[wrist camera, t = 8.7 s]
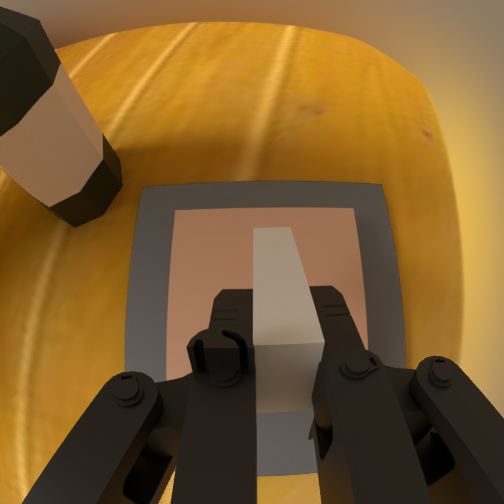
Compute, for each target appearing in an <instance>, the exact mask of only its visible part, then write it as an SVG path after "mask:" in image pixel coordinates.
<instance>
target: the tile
mask: <svg viewBox="0 0 504 504" xmlns="http://www.w3.org/2000/svg"><path fill="white" fill-rule="evenodd" d="M265 227H291V230H292V234H293V237H294V240H295V243H296V246H297V249H298V253H299V256H300V259H301V262H302V265H303V269H304V272H305V275H306V279H307V282H308V285H309V286H328V285H332V286H333V287H335V288H336V289H337V290H338V291H339V292H340V293H342V295H343V297H344V299H345V302H346V304H347V307H348V308H349V311H350V313H351V315H352V318H353V320H354V322H355V325H356V327H357V329H358V332H359V334H360V337H361V339H362V342H363V344H364V346H365V349H366V350H368V336H367V318H366V305H365V293H364V282H363V273H362V264H361V256H360V248H359V241H358V234H357V227H356V221H355V215H354V209H353V208H310V207H280V208H223V209H194V210H175V219H174V228H173V239H172V250H171V262H170V275H169V292H168V312H167V348H166V381H167V380H173V379H177V378H180V377H183V376H185V375H187V374H189V373H191V372H192V368H191V364H190V360H189V356H188V352H187V348H186V347H187V345H188V343H189V341H190V339H191V338H192V337H193V336H195V335H196V334H197V333H198V332H200V331H202V330H205V329H208V327H209V322H210V316H211V312H212V306H213V301H214V298H215V297H216V296H217V295H218V293H219V292H220V291H221V290H222V289H253V228H265Z"/></svg>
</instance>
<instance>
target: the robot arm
mask: <svg viewBox="0 0 504 504" xmlns="http://www.w3.org/2000/svg"><path fill="white" fill-rule="evenodd" d="M186 348H187V352H188V356H189V360H190V364H191V368H192V372H191V373H189V374H187V375H185V376H183V377H180V378H177V379H173V380H167V381H162V382H156V383H155V382H154V380H153V379H152V378H151V377H150V376H148V375H146V374H144V373H143V372H136V371H128V372H122V373H120V374H118V375H116V376H113V377H112V378H111V379H110V380H109V381H108V382H107V383H105V385H104V386H103V387H102V389H101V390H100V391H99V393H98V394H97V395H96V397H95V398H94V399H93V401H92V402H91V404H90V405H89V406H88V408H87V409H86V410H85V412H84V413H83V415H82V416H81V417H80V419H79V420H78V421H77V423H76V424H75V426H74V427H73V428H72V430H71V431H70V433H69V434H68V435H67V437H66V438H65V440H64V441H63V443H62V444H61V445H60V447H59V448H58V450H57V451H56V453H55V454H54V456H53V457H52V458H51V460H50V461H49V463H48V464H47V466H46V467H45V469H44V470H43V472H42V473H41V475H40V476H39V478H38V479H37V481H36V482H35V484H34V485H33V487H32V488H31V490H30V491H29V493H28V495H27V496H26V498H25V499H24V501H23V502H22V504H158V503H159V501H160V499H161V497H162V495H163V493H164V490H165V488H166V486H167V484H168V482H169V480H170V478H171V476H172V474H173V472H174V470H175V467H176V471H175V478H174V484H173V491H172V497H171V504H257V422H256V413H274V412H294V411H307V410H310V407H311V403H312V404H313V410H314V418H313V421H312V424H311V428H310V431H309V437H308V440H310V439H312V438H313V439H314V447H315V454H316V462H317V470H318V478H319V486H320V495H321V504H504V418H503V417H502V416H501V415H500V414H499V412H498V411H497V410H496V409H495V407H494V406H493V405H492V404H491V403H490V402H489V400H488V399H487V398H486V397H485V396H484V394H483V393H482V392H481V391H480V390H479V389H478V388H477V386H476V385H475V384H474V383H473V382H472V381H471V380H470V379H469V377H468V376H467V375H466V374H465V373H464V372H463V371H462V370H461V368H460V367H459V366H458V365H457V364H455V363H454V362H453V361H452V360H450V359H447V358H445V357H442V356H431V357H427V358H425V359H424V360H422V361H421V362H420V363H419V365H418V367H417V369H416V370H414V369H404V368H394V367H390V366H386V365H383V363H382V361H381V360H380V359H379V357H378V356H377V355H375V354H374V353H372V352H371V351H369V350H366V349H365V346H364V344H363V342H362V339H361V337H360V334H359V332H358V329H357V327H356V325H355V322H354V320H353V318H352V315H351V313H350V311H349V308H348V307H347V304H346V302H345V299H344V297H343V295H342V293H340V292H339V291H338V290H337V289H336V288H335V287H333V286H332V285H328V286H309V285H308V282H307V279H306V275H305V272H304V269H303V265H302V262H301V259H300V256H299V253H298V249H297V246H296V243H295V240H294V237H293V234H292V230H291V227H265V228H253V289H222V290H221V291H220V292H219V293H218V295H217V296H216V297H215V298H214V301H213V306H212V312H211V316H210V322H209V327H208V329H205V330H202V331H200V332H198V333H197V334H196V335H195V336H193V337H192V338H191V339H190V341H189V343H188V345H187V347H186Z"/></svg>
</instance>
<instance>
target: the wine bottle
mask: <svg viewBox="0 0 504 504" xmlns="http://www.w3.org/2000/svg"><path fill="white" fill-rule="evenodd" d="M0 168H1V169H2V170H3V171H4V172H5V173H6V174H8V175H9V176H10V177H11V178H12V179H13V180H14V181H15V182H17V183H18V184H19V185H20V186H21V187H22V188H23V189H25V190H26V191H27V192H28V193H29V194H31V195H32V196H33V197H34V198H35V199H36V200H38V201H39V202H40V203H41V204H43V205H44V206H45V207H46V208H47V209H49V210H50V211H51V212H52V213H54V214H55V215H56V216H58V217H59V218H61V219H62V220H64V221H65V222H67V223H68V224H70V225H72V226H73V227H77V226H79V225H82V224H84V223H86V222H88V221H91V220H93V219H95V218H97V217H100V216H102V215H104V213H105V211H106V210H107V208H108V207H109V205H110V204H111V202H112V200H113V199H114V197H115V196H116V194H117V193H118V191H119V190H120V189H121V187H122V186H123V185H122V176H121V166H120V159H119V158H118V156H117V155H116V153H115V152H114V150H113V149H112V147H111V146H110V144H109V142H108V141H107V139H106V138H105V136H104V134H103V133H102V131H101V130H100V128H99V126H98V125H97V123H96V122H95V120H94V118H93V117H92V115H91V113H90V112H89V110H88V108H87V107H86V105H85V103H84V102H83V100H82V98H81V97H80V95H79V93H78V92H77V90H76V88H75V86H74V85H73V83H72V81H71V79H70V78H69V76H68V74H67V72H66V71H65V69H64V67H63V65H62V63H61V61H60V60H59V58H58V56H57V54H56V52H55V50H54V49H53V47H52V45H51V43H50V41H49V39H48V37H47V35H46V33H45V31H44V29H43V27H42V25H41V23H40V21H39V20H38V19H34V18H32V17H29V16H27V15H24V14H21V13H18V12H15V11H12V10H9V9H6V8H3V7H0Z"/></svg>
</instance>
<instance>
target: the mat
mask: <svg viewBox="0 0 504 504" xmlns="http://www.w3.org/2000/svg"><path fill="white" fill-rule="evenodd" d="M280 207H310V208H353V209H354V215H355V221H356V227H357V234H358V241H359V248H360V256H361V264H362V273H363V282H364V293H365V305H366V318H367V336H368V350H369V351H371V352H372V353H374V354H375V355H377V356H378V357H379V359H380V360H381V361H382V363H383V365H386V366H390V367H394V368H404V369H406V352H405V331H404V317H403V305H402V295H401V287H400V279H399V271H398V264H397V257H396V251H395V245H394V239H393V234H392V229H391V224H390V219H389V214H388V209H387V205H386V200H385V196H384V192H383V188H382V184H371V183H351V182H324V181H238V182H210V183H190V184H175V185H161V186H149V187H142V192H141V197H140V203H139V208H138V214H137V220H136V227H135V233H134V240H133V248H132V256H131V264H130V274H129V284H128V296H127V309H126V328H125V372H128V371H136V372H143V373H144V374H146V375H148V376H150V377H151V378H152V379H153V380H154V382H155V383H156V382H162V381H166V348H167V312H168V292H169V275H170V262H171V250H172V239H173V228H174V219H175V210H194V209H223V208H280ZM313 418H314V410H313V404H312V403H311V407H310V410H307V411H294V412H274V413H256V422H257V476H283V475H297V474H308V473H318V470H317V462H316V454H315V447H314V439H313V438H312V439H310V440H308V437H309V431H310V428H311V424H312V421H313ZM174 471H176V467H175V470H174Z"/></svg>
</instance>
